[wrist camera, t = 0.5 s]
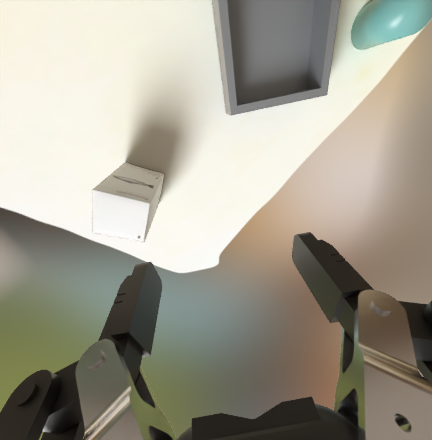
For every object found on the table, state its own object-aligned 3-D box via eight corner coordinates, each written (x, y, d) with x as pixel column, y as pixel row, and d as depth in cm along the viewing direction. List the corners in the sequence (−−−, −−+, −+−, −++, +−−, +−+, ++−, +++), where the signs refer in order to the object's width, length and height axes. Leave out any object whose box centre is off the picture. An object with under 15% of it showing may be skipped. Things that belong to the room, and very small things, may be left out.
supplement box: (165, 172, 35) (152, 203, 24) (158, 205, 38) (144, 244, 28) (124, 160, 33) (90, 188, 22) (121, 196, 36) (90, 234, 26)
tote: (203, -70, 20) (205, -115, 16) (326, -98, 20) (361, -151, 16) (226, 113, 30) (231, 115, 26) (308, 96, 30) (327, 94, 26)
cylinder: (355, 4, 25) (405, -26, 19) (392, -4, 25) (453, -37, 19) (347, 53, 27) (388, 39, 22) (380, 46, 27) (430, 30, 22)
